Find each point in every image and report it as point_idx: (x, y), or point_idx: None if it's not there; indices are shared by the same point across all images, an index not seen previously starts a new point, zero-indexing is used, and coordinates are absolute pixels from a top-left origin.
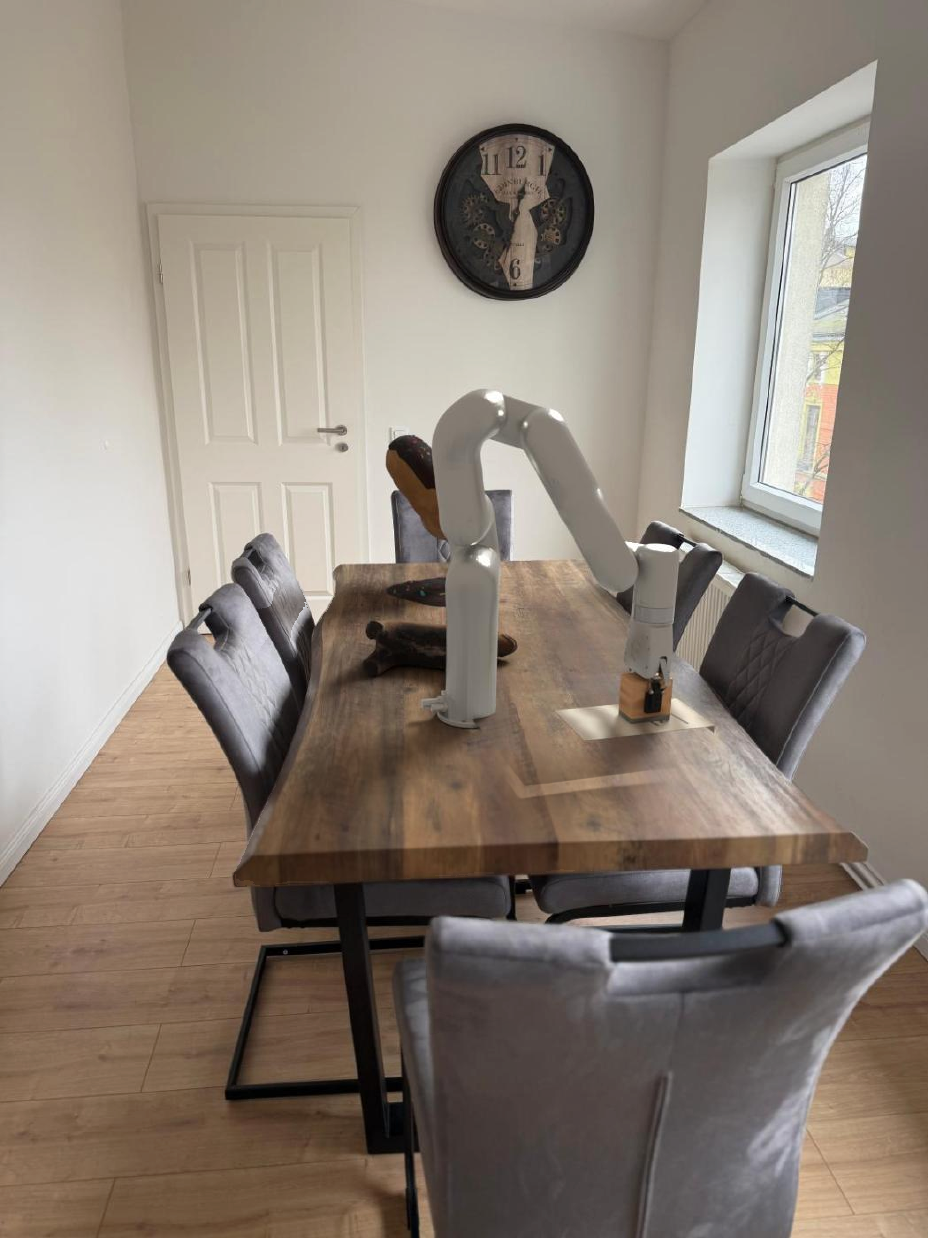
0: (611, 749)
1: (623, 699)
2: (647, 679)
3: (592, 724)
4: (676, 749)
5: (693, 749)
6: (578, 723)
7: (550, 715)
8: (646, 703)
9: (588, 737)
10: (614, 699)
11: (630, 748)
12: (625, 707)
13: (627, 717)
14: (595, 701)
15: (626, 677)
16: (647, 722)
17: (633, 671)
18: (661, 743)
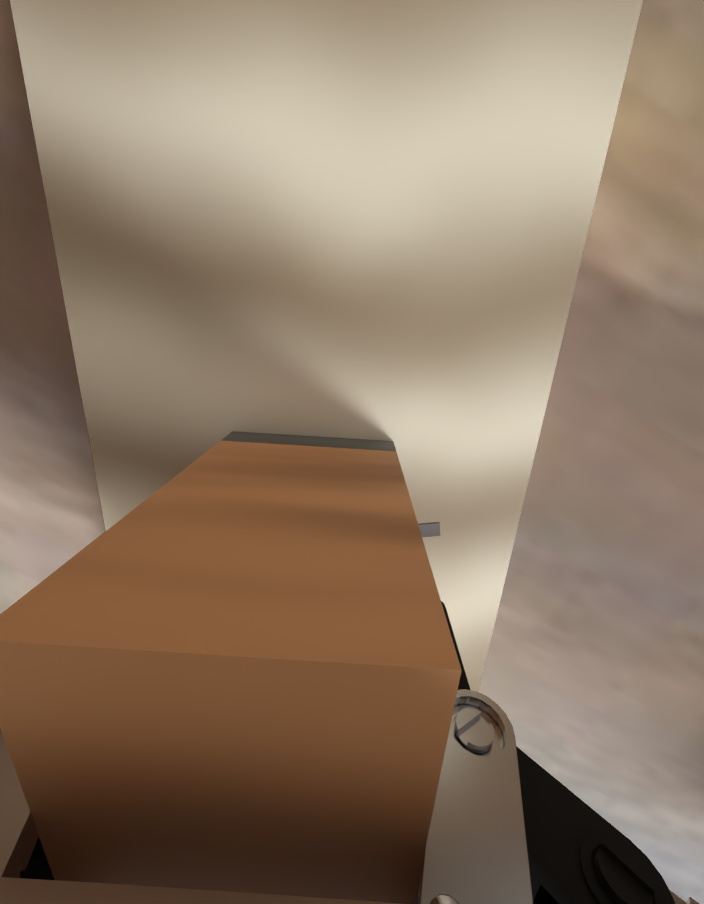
0: (33, 181)
1: (335, 483)
2: (7, 854)
3: (284, 168)
4: (21, 514)
5: (19, 575)
6: (330, 49)
7: (667, 8)
8: None
9: None
10: (643, 553)
11: (42, 307)
12: (297, 461)
13: (271, 440)
14: (680, 452)
15: (261, 662)
16: None
17: (456, 844)
18: (90, 488)
